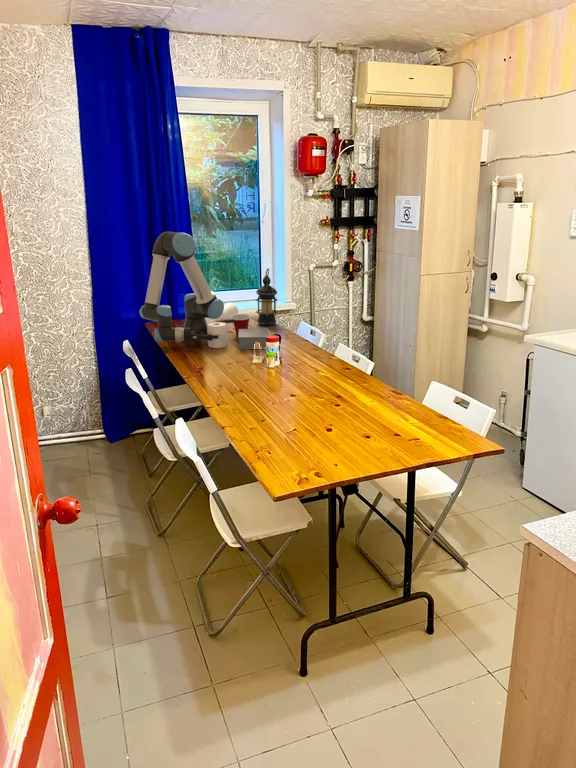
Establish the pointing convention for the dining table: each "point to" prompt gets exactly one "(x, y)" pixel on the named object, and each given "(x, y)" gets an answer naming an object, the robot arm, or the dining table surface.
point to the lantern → (266, 302)
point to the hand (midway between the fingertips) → (224, 333)
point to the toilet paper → (217, 329)
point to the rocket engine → (227, 313)
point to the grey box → (252, 338)
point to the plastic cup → (240, 322)
